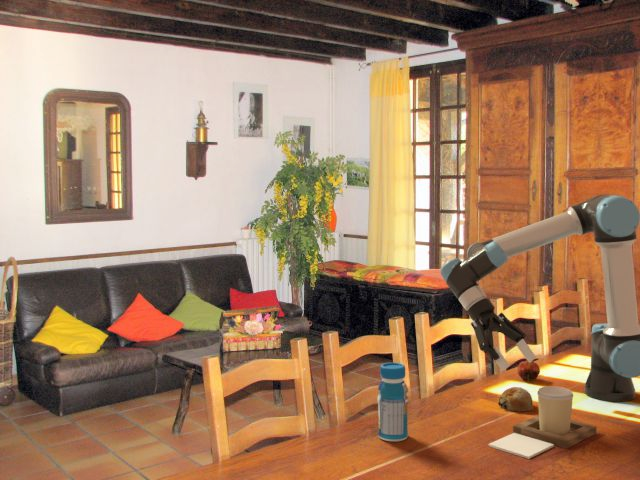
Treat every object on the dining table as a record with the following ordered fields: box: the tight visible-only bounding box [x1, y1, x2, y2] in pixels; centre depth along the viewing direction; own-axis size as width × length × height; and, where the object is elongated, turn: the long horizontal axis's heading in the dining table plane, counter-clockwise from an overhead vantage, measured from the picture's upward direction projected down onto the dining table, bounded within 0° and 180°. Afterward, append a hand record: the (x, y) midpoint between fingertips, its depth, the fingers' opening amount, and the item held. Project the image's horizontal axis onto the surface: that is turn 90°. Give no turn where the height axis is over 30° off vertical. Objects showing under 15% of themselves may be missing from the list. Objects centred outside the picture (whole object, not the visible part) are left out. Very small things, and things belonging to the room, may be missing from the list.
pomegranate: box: [517, 360, 541, 384], centre depth 253 cm, size 7×7×10 cm
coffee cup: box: [537, 385, 574, 436], centre depth 202 cm, size 9×9×12 cm
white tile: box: [488, 432, 555, 460], centre depth 193 cm, size 12×12×1 cm
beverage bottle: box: [376, 362, 409, 443], centre depth 200 cm, size 8×8×20 cm
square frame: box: [512, 414, 597, 449], centre depth 203 cm, size 16×16×2 cm
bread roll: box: [497, 386, 534, 412], centre depth 225 cm, size 10×10×8 cm
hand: (519, 364), depth 209 cm, fingers open, 13 cm apart
